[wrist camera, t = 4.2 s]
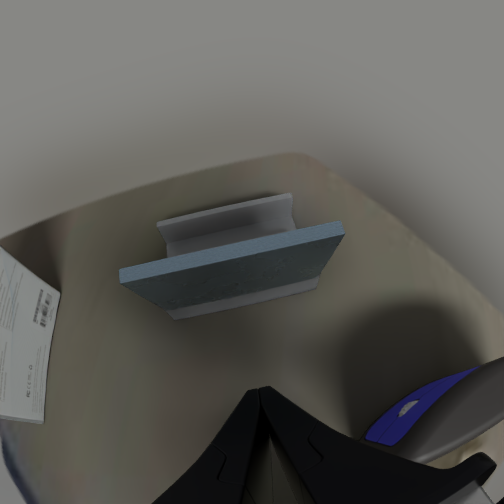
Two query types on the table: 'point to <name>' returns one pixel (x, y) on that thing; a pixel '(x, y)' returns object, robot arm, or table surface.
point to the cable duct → (227, 232)
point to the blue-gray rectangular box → (235, 267)
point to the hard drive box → (24, 339)
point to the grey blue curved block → (441, 415)
